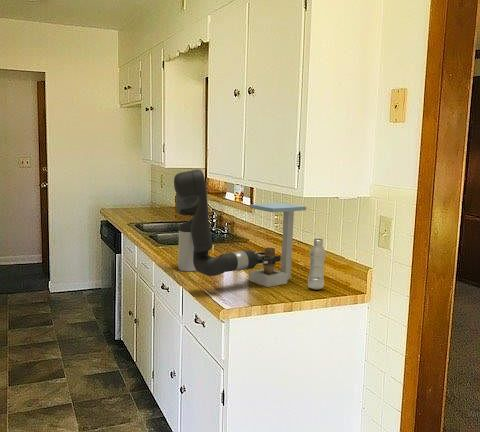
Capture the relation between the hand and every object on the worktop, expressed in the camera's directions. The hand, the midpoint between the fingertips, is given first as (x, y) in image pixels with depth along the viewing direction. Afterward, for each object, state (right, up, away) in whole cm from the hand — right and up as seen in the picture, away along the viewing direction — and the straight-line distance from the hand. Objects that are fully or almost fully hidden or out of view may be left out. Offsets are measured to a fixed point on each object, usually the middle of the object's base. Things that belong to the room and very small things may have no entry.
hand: (273, 256), depth 215 cm
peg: (-2, -11, 0) cm, 11 cm away
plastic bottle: (+16, -13, -8) cm, 22 cm away
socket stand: (+1, -10, +2) cm, 11 cm away
